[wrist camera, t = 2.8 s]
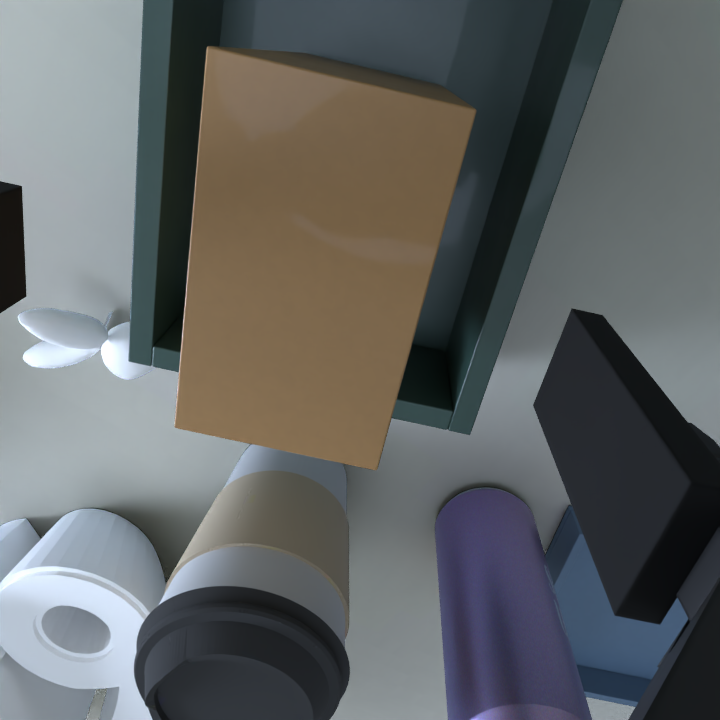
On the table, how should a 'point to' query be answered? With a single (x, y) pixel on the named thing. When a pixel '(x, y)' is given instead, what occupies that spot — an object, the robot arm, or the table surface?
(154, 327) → the box
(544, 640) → the beverage can
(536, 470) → the table surface
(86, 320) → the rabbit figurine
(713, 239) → the table surface
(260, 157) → the packet
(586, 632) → the tray
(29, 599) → the white letter sculpture
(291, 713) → the coffee cup
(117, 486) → the table surface
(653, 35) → the table surface
